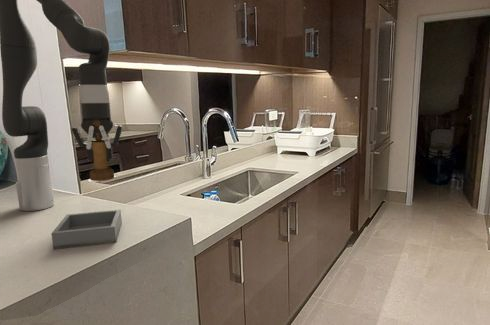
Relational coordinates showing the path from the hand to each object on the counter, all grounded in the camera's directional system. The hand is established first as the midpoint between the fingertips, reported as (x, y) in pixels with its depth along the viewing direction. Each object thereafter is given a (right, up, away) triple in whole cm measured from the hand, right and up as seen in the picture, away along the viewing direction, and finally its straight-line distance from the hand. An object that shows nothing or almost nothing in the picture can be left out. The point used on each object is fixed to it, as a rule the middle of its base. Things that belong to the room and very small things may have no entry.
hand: (100, 160), depth 100 cm
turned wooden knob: (0, -5, +1) cm, 6 cm away
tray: (+2, -19, -11) cm, 22 cm away
